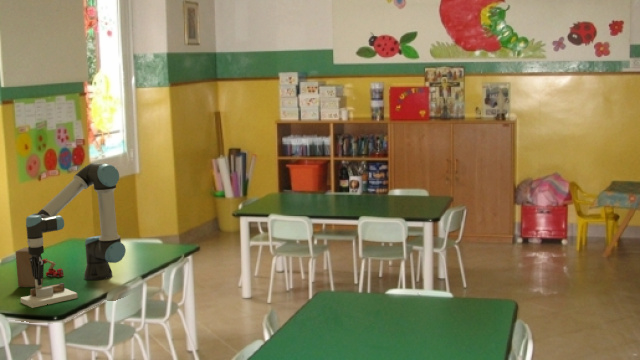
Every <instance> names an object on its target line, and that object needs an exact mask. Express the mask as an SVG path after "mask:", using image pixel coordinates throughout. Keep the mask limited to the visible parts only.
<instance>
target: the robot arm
mask: <svg viewBox="0 0 640 360" xmlns="http://www.w3.org/2000/svg"><path fill="white" fill-rule="evenodd" d="M119 180H120V171H119V170H118V169H117V167H115V166H114V165H112V164H109V163H98V162H92V163H89V164H87V165H85V166H84V167H83V168H81V169H79V171H78V172H76V174H74V176H73V179H72V180H70V182H69V183H68V184H67V185H65V187H64V188H63V189H61V190H60V191H59V193H57V194H56V195H55V196H54V197H53V198H51V199H50V201H48V203H46V204H45V205H44V206H43V207H42V208H41V209H40V210H39V211H38V212H37V213H32V214H30V215H28V216H27V217H26V218H25V228H26V236H27V241H26V243H27V248H28V253H29V254H30V255H31V258H29V260H30V263H31V269H32V274H33V277H34V278H35V285H36V286H35V288H41V287H43V283H42V281H41V279H42V278H43V279H44V271H45V270H44V268H45V264H44V261H42V260H43V257H42V254H44V253H45V249H44V236H43V235H44V233H51V232H58V231H60V230H63V229H64V228H65V220H64V218H63V216H62V215H58V214H59V213H60V212H61V211H62V210H63V209H64V208H65V207H66V206H67V205H68V204H70V203H71V202H72V201H73V200H74V199H75V198H76V197H77V196H79V194H80V193H81V192H82V191H83V190H87V189H88V188H89V187H90V186H93V190H94V191H95V192H96V193H97V194H96V195H97V203H98V204H97V205H98V213H99V227H100V235H96V236H95V235H94V236H90V237H87V238H86V239H85V241H84V243H85V244H84V246H85V257H86V266H85V270H84V274H83V275H84V276H83V277H84V280H88V281H99V280H101V281H102V280H107V279H109V278H112V277H113V270H112V269H111V265H110V264H112V263H113V264H116V263H119V262H121V261H122V260H123V258H124V257H125V256H126V245H124V243H122V240H121V235H119V234H118V226H117V215H116V203H115V190H116V189H117V184H118V182H119Z"/></svg>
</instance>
